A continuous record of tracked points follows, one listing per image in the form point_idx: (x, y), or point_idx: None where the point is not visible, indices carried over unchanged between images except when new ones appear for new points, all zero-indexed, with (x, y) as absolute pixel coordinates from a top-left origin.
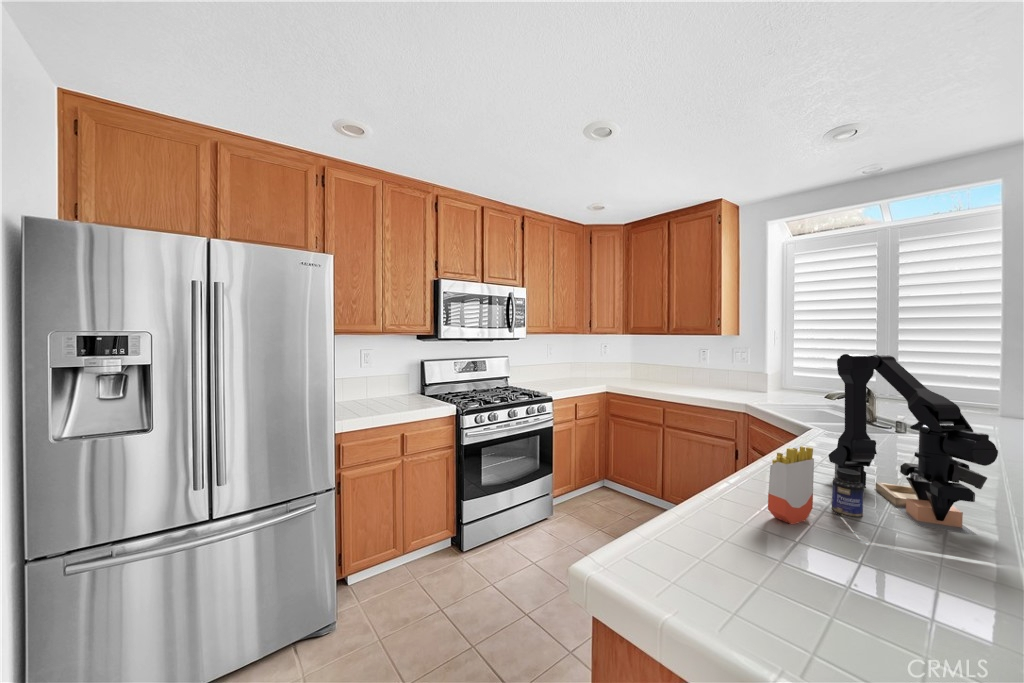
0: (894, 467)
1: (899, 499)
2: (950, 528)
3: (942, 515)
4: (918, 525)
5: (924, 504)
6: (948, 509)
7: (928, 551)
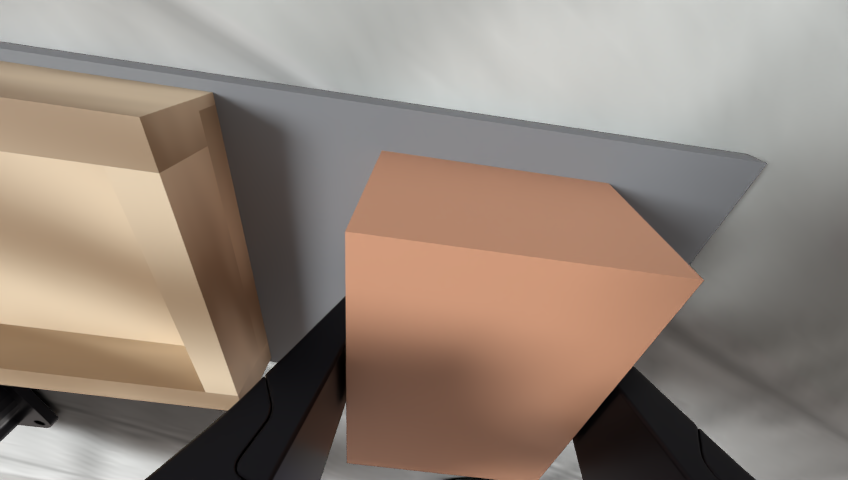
0: None
1: (243, 386)
2: None
3: None
4: None
5: (479, 443)
6: (694, 433)
7: (801, 454)
